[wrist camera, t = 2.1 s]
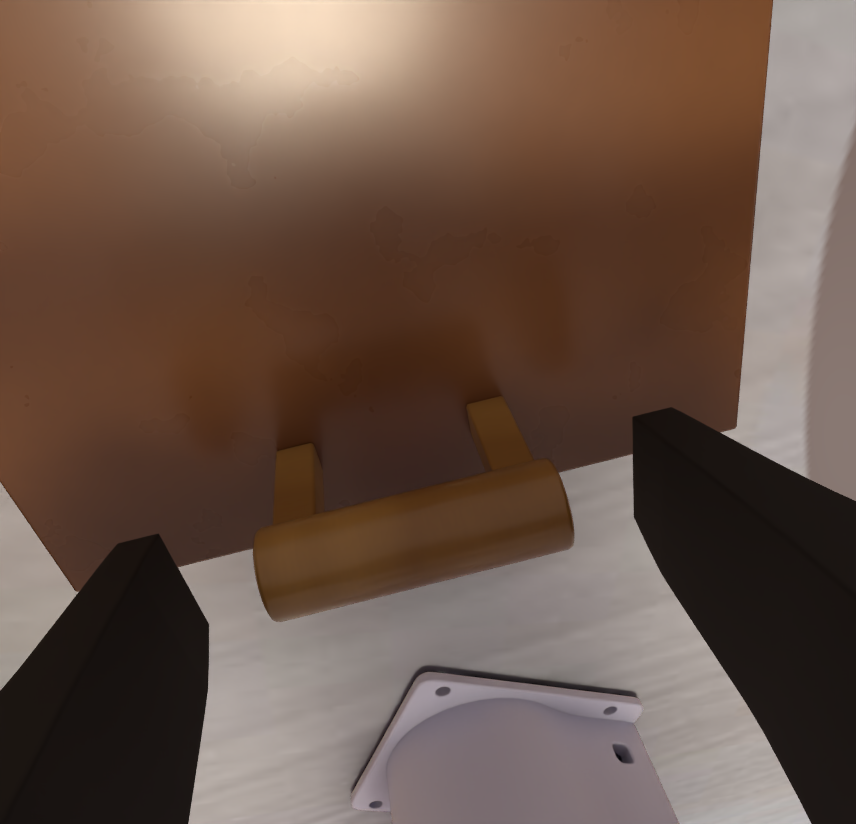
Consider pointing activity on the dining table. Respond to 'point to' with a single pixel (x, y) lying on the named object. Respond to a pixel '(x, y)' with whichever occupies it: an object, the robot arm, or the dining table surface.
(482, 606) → the dining table surface
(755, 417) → the dining table surface
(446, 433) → the box lid
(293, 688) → the dining table surface
